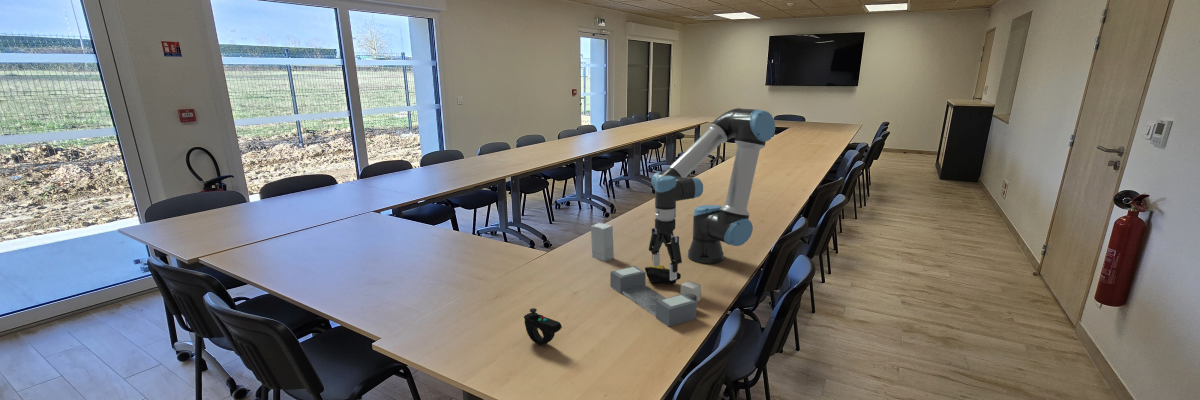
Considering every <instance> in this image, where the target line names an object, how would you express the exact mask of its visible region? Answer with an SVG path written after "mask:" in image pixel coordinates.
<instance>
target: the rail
mask: <svg viewBox="0 0 1200 400" xmlns="http://www.w3.org/2000/svg"><path fill="white" fill-rule="evenodd" d="M620 294H621V295H624V296H625V297H626V298H628V299H629V300H631V301H632V302H634V303H635V304H637V306H639V307H641V308H642V309H644V310H645V311H647V312H648V313H650V314H651V315H652V316H654V317H655V318H656V301H658V300H662V299H666V296H664V295H662V294H660V293H659V292H657V291H655V290H654V289H652V288H651V287H649V286H647V285H646V284H645V285H640V286H636V287H632V288H628V289H624V290H621V293H620Z"/></svg>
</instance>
